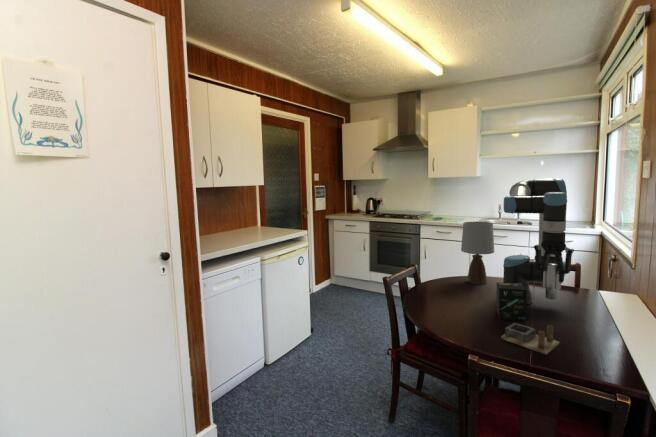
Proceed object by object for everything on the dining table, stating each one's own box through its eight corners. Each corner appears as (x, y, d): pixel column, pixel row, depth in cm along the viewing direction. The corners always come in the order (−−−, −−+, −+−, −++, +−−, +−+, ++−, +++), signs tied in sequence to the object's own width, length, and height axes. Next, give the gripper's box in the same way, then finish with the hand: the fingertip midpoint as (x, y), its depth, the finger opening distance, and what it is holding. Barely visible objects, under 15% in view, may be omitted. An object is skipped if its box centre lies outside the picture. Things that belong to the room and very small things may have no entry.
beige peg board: (501, 338, 130) (501, 321, 129) (515, 329, 137) (515, 313, 136) (546, 354, 117) (547, 336, 117) (559, 344, 124) (560, 326, 124)
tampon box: (521, 313, 154) (522, 283, 152) (526, 321, 145) (527, 289, 144) (495, 311, 157) (496, 281, 156) (498, 318, 149) (499, 287, 147)
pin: (543, 297, 133) (544, 264, 131) (547, 295, 135) (548, 262, 134) (554, 300, 130) (556, 266, 128) (558, 297, 132) (560, 264, 130)
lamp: (500, 284, 197) (502, 223, 193) (475, 288, 191) (476, 225, 187) (478, 276, 214) (478, 220, 210) (454, 279, 209) (454, 222, 205)
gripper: (526, 230, 134) (524, 285, 137) (576, 234, 120) (573, 295, 123) (534, 228, 138) (532, 281, 141) (583, 232, 125) (580, 291, 127)
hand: (551, 287), depth 132 cm, fingers closed on pin, 4 cm apart
